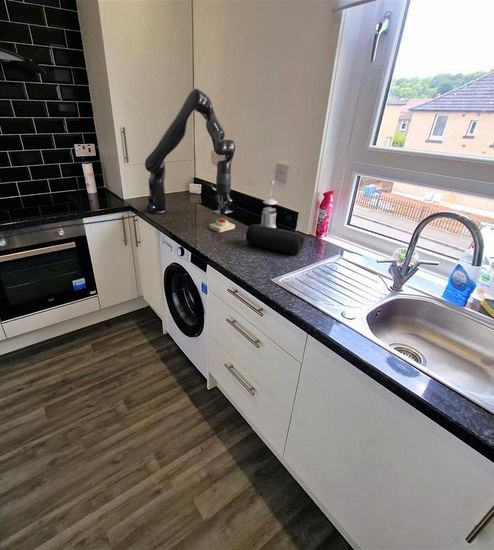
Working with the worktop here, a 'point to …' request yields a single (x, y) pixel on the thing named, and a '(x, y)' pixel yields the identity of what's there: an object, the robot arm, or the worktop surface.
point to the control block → (221, 226)
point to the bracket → (225, 211)
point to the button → (222, 220)
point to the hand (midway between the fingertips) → (222, 214)
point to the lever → (211, 187)
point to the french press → (269, 213)
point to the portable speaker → (275, 239)
